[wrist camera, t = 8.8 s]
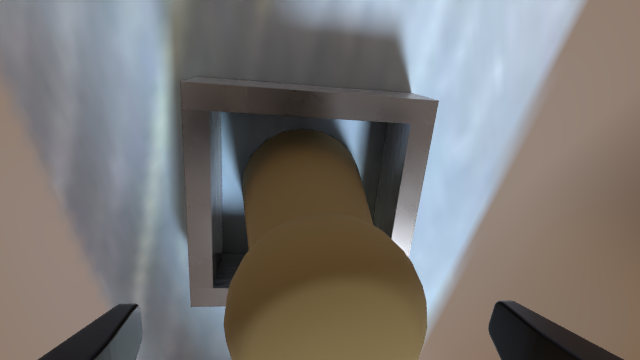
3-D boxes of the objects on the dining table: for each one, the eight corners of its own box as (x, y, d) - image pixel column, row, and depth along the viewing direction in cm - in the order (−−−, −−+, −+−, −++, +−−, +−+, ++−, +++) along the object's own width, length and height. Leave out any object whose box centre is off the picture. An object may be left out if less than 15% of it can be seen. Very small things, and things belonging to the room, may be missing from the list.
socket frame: (382, 269, 20) (399, 304, 17) (203, 269, 19) (191, 306, 16) (411, 93, 17) (438, 100, 14) (197, 76, 16) (180, 81, 13)
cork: (377, 149, 18) (516, 282, 7) (336, 250, 19) (403, 470, 9) (261, 111, 16) (235, 209, 6) (228, 223, 18) (165, 445, 8)
